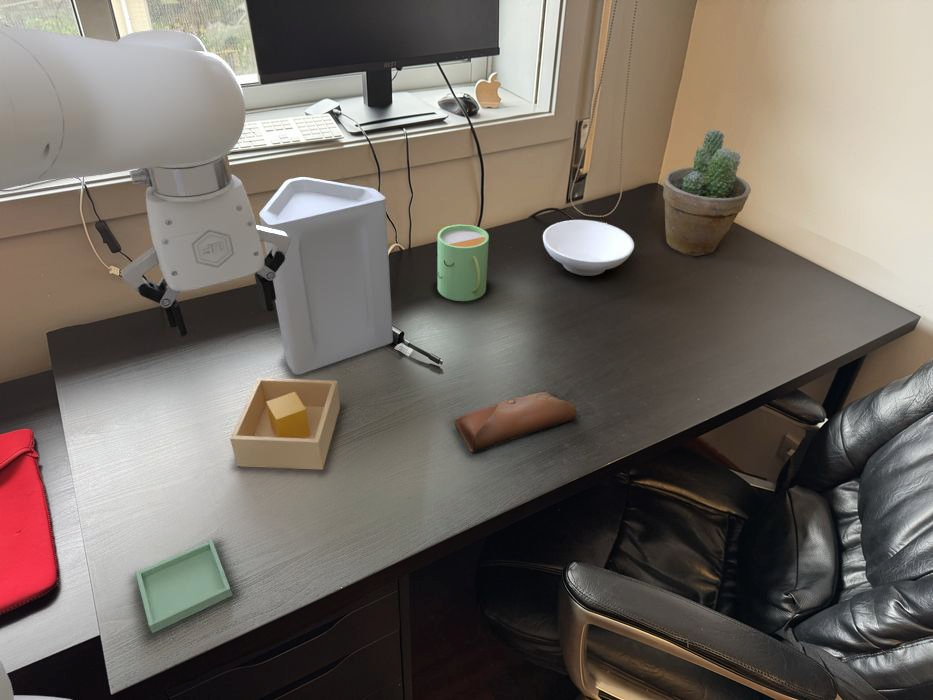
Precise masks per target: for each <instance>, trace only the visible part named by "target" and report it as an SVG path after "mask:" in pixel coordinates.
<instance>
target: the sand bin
mask: <svg viewBox="0 0 933 700" xmlns="http://www.w3.org/2000/svg"><path fill="white" fill-rule="evenodd" d="M293 392H296V394H297V396H298V397H299V399H300V400H301V402H302V404H303V405H304V407H305V408H306V412H307V418H308V424H309V430H310V436H308V437H306V438H279V437H276V435H275V434H274V432H273V430H272V427H271V423H270V418H269V414H268V409H267V404H266V402H267V401H270V400H273V399H276V398H279V397H281V396H284V395H287V394H290V393H293ZM247 398H248V399H247V401H246V402H245V405H244V407H243V409H242V411H241V414H240V416H239V418H238V420H237V423H236V424H235V426H234V429H233V431H232V433H231V435H230V438H229V440H230V444H231V448H232V451H233V454H234V455H233V456H234V458H235V462H236V466H237V467H244V468H247V467H248V468H269V469H270V468H271V469H292V470H293V469H296V470H319V471H322V470H324V467H325V463H326V460H327V456H328V453H329V450H330V446H331V442H332V439H333V434H334V431H335V428H336V423H337V421H338V417H339V413H340V409H341V403H340V394H339V386H338V381H337V380H326V379H325V380H323V379H321V380H320V379H302V378H301V379H300V378H299V379H298V378H296V379H295V378H275V377H274V378H272V377H257V379H256V380H255V383H254V385H253V387H252V390H251V391H250V394H249V396H248V397H247Z"/></svg>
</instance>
